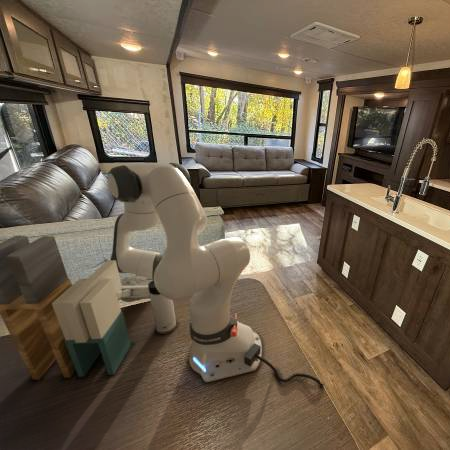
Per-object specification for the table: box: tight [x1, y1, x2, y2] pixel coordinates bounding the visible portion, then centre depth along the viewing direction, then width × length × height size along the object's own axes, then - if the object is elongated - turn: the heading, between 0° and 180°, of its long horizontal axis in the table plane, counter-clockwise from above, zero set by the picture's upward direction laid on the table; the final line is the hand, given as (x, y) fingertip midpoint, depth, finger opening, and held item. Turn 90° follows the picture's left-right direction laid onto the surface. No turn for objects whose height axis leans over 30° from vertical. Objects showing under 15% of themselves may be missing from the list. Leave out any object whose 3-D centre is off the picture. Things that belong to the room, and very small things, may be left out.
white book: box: [61, 259, 123, 343], centre depth 69 cm, size 2×19×13 cm, turn 8°
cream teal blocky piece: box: [52, 278, 132, 377], centre depth 69 cm, size 9×10×26 cm
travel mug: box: [148, 280, 177, 335], centre depth 83 cm, size 6×7×20 cm
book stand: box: [0, 235, 76, 380], centre depth 65 cm, size 9×10×39 cm
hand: (109, 295), depth 75 cm, fingers closed on white book, 2 cm apart
